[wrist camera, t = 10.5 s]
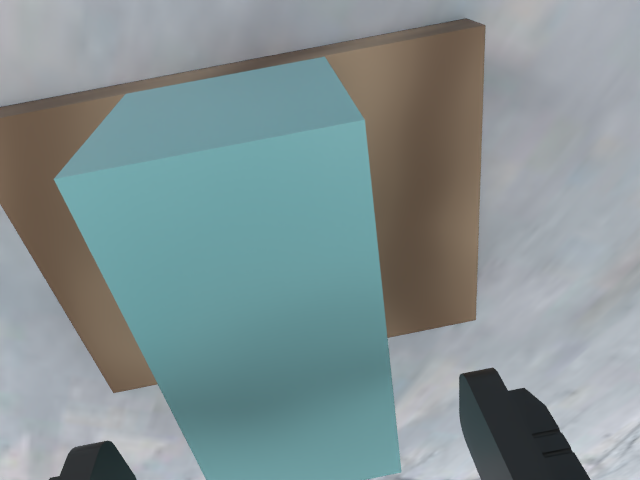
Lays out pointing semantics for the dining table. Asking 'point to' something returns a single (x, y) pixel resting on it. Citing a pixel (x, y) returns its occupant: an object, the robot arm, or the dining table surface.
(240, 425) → the teal rectangular block
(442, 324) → the base plate
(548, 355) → the dining table surface
